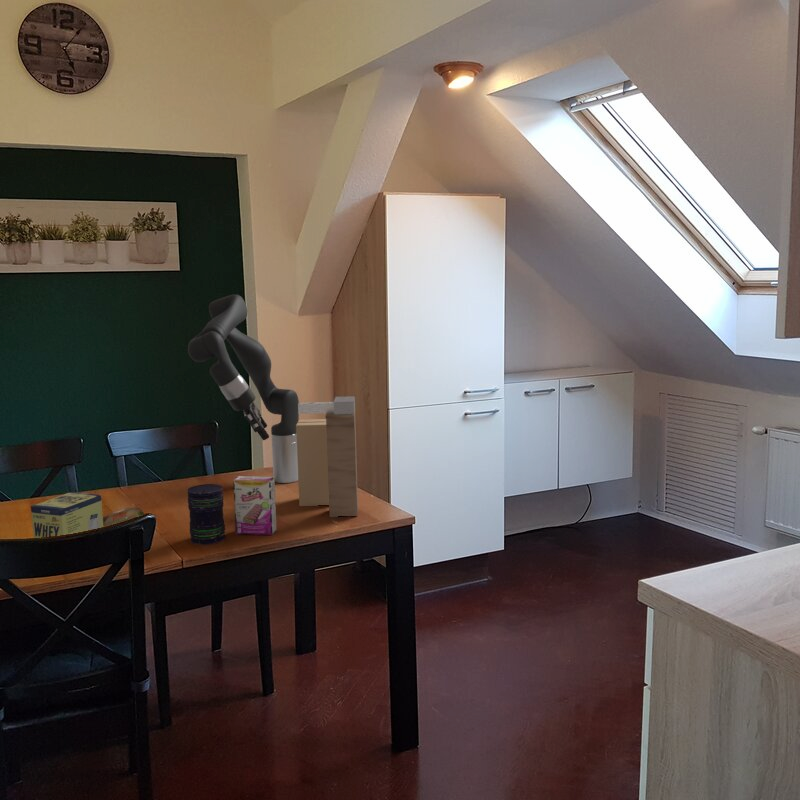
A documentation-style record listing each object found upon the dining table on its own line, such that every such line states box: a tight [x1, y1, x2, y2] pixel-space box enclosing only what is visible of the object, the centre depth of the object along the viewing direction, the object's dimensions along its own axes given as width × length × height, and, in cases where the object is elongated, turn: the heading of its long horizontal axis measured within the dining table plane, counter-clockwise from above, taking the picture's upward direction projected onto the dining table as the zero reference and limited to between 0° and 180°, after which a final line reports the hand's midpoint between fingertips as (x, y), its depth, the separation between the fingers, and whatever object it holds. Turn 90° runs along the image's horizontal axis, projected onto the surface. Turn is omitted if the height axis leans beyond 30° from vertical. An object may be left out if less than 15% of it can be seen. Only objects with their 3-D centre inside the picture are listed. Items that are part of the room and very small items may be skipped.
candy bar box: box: [233, 475, 277, 536], centre depth 242 cm, size 11×5×16 cm, turn 84°
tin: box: [103, 506, 145, 526], centre depth 240 cm, size 15×3×8 cm, turn 148°
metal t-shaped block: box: [298, 395, 356, 415], centre depth 255 cm, size 10×17×4 cm, turn 91°
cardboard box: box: [296, 418, 329, 507], centre depth 272 cm, size 10×12×27 cm
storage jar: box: [186, 483, 226, 546], centre depth 237 cm, size 10×10×15 cm
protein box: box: [30, 491, 104, 539], centre depth 226 cm, size 10×16×16 cm
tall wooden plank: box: [325, 412, 359, 518], centre depth 258 cm, size 12×8×32 cm
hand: (265, 433), depth 257 cm, fingers open, 8 cm apart
